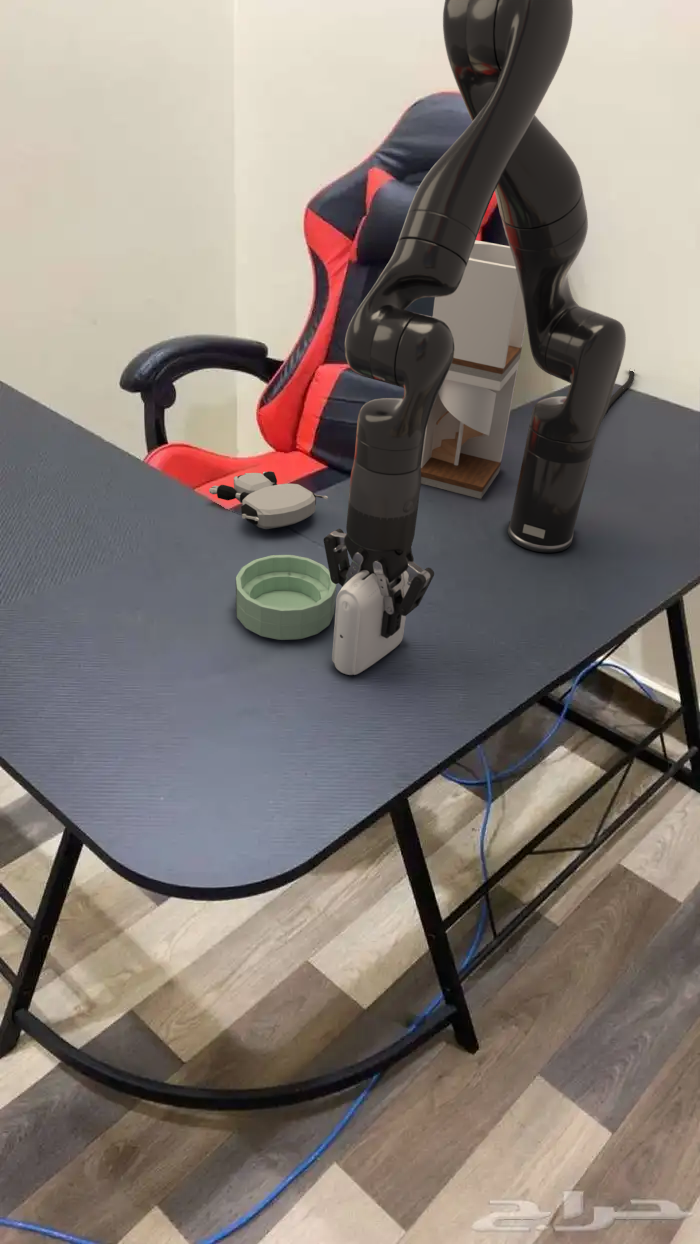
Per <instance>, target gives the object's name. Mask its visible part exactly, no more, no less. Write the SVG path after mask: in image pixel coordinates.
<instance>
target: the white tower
mask: <svg viewBox="0 0 700 1244" xmlns="http://www.w3.org/2000/svg"><path fill="white" fill-rule="evenodd" d="M432 317H435V318H438V319H440V320H442V321H443V322H445V323H446V324H447V325H448V327H449V328H450V330H451V332H452V335H453V338H454V345H455V351H454V358H453V361H452V364H451V367H450V369H449V371H448V374H447V376H446V378H445V380H444V382H443V384H442V386H441V389H440V391H439V393H438V395H437V398H436V400H435V403H434V406H433V408H432V411H431V414H430V417H429V420H428V423H427V427H426V431H425V438H424V446H423V454H422V461H421V485H425V486H429V487H433V488H435V489H436V488H437V489H441V490H444V491H448V492H452V493H456V494H461V495H463V496H467V497H471V498H474V499H475V498H476V499H480V500H482V498H483V497H484V496H485V494H486V492H487V491H488V490H489V488H490V487H491V485H492V483H493V482H494V480H495V479H496V477H497V476H498V475H499V473H500V471H501V465H502V459H503V455H504V454H503V453H504V448H505V442H506V437H507V432H508V427H509V420H510V415H511V409H512V406H513V405H512V404H513V398H514V393H515V387H516V382H517V377H518V371H519V366H520V360H521V354H522V349H523V344H524V338H525V333H526V328H527V322H526V315H525V308H524V302H523V296H522V292H521V288H520V284H519V280H518V276H517V271H516V267H515V263H514V259H513V256H512V252H511V249H510V246H509V245H503V244H499V243H493V242H489V241H481V240H477V239H476V240H475V244H474V246H473V249H472V252H471V255H470V258H469V261H468V263H467V266H466V269H465V272H464V275H463V277H462V280H461V282H460V285H459V287H458V288H457V290H456V291H455V292H454V293H453V294H451V295H448V296H443V297H434V301H433V309H432Z"/></svg>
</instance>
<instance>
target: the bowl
mask: <svg viewBox="0 0 700 1244" xmlns="http://www.w3.org/2000/svg"><path fill="white" fill-rule="evenodd" d="M336 598H337V584H334V583H333V582H332V581H331V578H330V573H329V568H327V567H326V565H324V564H322V563H320V562H318V561H316V560H313V559H311V558H310V557H304V556H300V555H294V554H271V555H267V556H264V557H259V558H256V559H253V560H251V561H250V562H248V563H247V564H245V565H244V566H241V568H240V570H239V572H238V573H237V575H236V577H235V613H236V619H237V620H239V622H240V623H241V624H242V626H243V627H244V628H245V629H246V630H249V631H250V632H253V633H254V634H256V635H259V636H260V637H264V638H269V639H272V640H273V639H274V640H278V641H280V640H281V641H285V640H302V639H305V638H309V637H312V636H315V635H318V634H320V632H322V631H323V630H325V629H326V628H327V627H329V626H330V624H331V623H332V620H333V618H334V617H335V610H336Z"/></svg>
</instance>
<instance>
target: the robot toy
mask: <svg viewBox="0 0 700 1244" xmlns="http://www.w3.org/2000/svg"><path fill="white" fill-rule="evenodd" d="M208 492H209V493H210V494H211V495H216V497H217V499H219V500H224V501H232V500H235V499H236V500H237V501H238V502H239V503H240V504H242V505H241V507H240V508H241V509H240V511H241V518H242V519H244V520H246V521H247V522H249V523H250V524H252V525H254V526H256V527H257V528H260V529H263V530H269V529H270V530H271V529H276V528H277V529H278V528H282V527H288V526H292V525H295V524H297V523H299V522H302V521H305V519H307V518H309V517H310V516H312V515H313V514H314V513H315V512H316V504H317V498H318V499H319V498H320V499H324V500H328V499H329V497H328V496H327V495H321V494H315V493H314V492H312V491H311V490H309V488H306V487H304V486H302V485H300V484H299V483H280V484H278V479H277V476H276V473H275V472H274V471H272V470H270V471H263V472H262V473H261V472H244V474H240V475H235V476H234V477H233V486H230V485H226V484H220V485H213V486H211V487H210V488H209V489H208Z"/></svg>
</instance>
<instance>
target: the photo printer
mask: <svg viewBox="0 0 700 1244" xmlns="http://www.w3.org/2000/svg"><path fill="white" fill-rule="evenodd" d="M403 573H404V579H405V585H404V588H403V590H404V596H405V595H406V593H407V591H408V589H409V587H410V586H409V585H408V584H407V582H408V577H409V575H408V573H407V571H405V572H403ZM369 575H370V574H369V571H367V570H362V571H360V572H359V573H358V574H356V575H355V576H353V577H352V578H351V579H350V580H349V581H348V582H347V583H346V584H345V585H344V586H343V587H342V586H341V589H340V590H339V591H338V593H337V594H336V597H335V611H334V625H333V626H334V629H333V641H332V653H331V654H332V655H331V661H332V662H333V664H334V667H335V668H336V670H337V671H338V672H339V673H342V674H345V675H349V676H353V675H354V676H355V675H358V674H360V673H362V672H363V671H366V670H367V669H368V668H370V667H371V666H373V665H375V664H376V663H377V662H378V661H380V660H381V659H383V658H384V657H386V656H387V655H388V654H390V653H391V652H392V651H393V650H394V649H396V648H397V647H398V646H399V645H400V644H401V643H402V641H403V639H404V632H405V626H406V618H407V615H406V616H403V615H402V616H401V623H400V629H399V630H398V631H397V632H396V633H394V634H393V635H392V636H390V637H388V638H385V637H383V636H381V630H382V621H383V612H384V611H385V606H384V600H383V598H384V597H383V596H382V595H381V593H380V589H379V586H378V583H377V577H376V575H375V574H371V575H370V576H369ZM394 581H395V580H393V581H392V582H390V583H389V585H390V584H392V583H393V582H394Z"/></svg>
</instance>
